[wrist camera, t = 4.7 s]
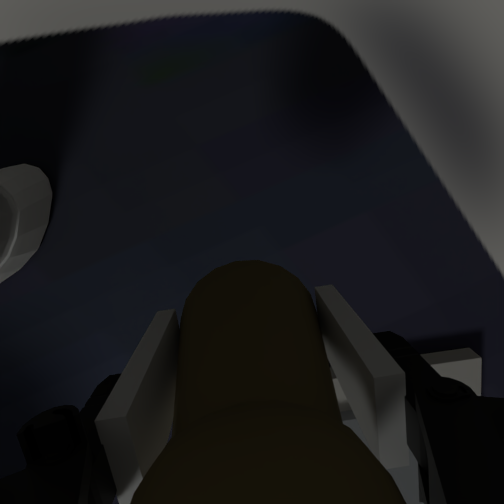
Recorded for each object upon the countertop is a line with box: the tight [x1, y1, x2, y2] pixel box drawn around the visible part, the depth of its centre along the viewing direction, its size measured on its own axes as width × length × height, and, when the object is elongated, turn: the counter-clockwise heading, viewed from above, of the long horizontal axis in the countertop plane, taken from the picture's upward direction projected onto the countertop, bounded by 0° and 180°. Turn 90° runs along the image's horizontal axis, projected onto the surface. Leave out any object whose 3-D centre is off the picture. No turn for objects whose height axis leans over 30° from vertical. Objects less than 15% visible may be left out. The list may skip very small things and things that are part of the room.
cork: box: [130, 260, 407, 504], centre depth 10 cm, size 6×6×11 cm
